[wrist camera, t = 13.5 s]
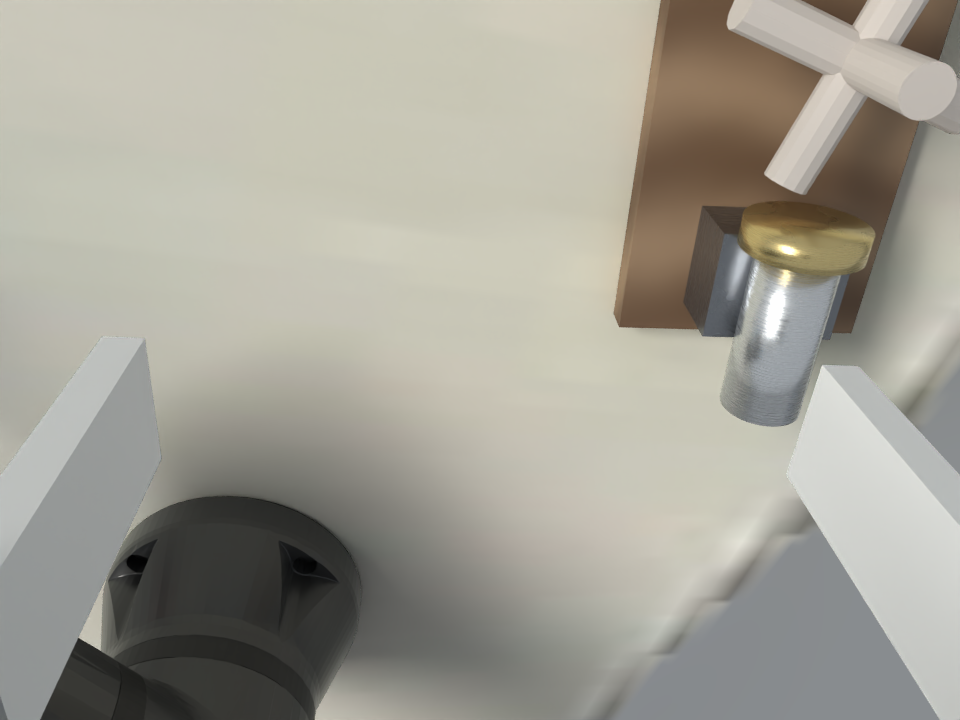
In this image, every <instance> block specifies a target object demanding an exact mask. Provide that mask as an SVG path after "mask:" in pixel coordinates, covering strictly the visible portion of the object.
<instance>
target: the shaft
mask: <svg viewBox="0 0 960 720" xmlns="http://www.w3.org/2000/svg"><path fill="white" fill-rule="evenodd" d="M874 239H875V231H874V230H873V228H872V227H871V226H870V225H869V224H867V223H866V222H864V221H863V220H861V219H859V218H857V217H855V216H853V215H850V214H848V213H845V212H842V211H839V210H836V209H832V208H828V207H824V206H820V205H815V204H809V203H802V202H791V201H769V202H761V203H756V204H753V205H750V206H749V207H729V206H702V209H701V214H700V219H699V224H698V229H697V234H696V239H695V245H694V250H693V255H692V260H691V265H690V270H689V275H688V280H687V285H686V290H685V295H684V300H683V303H684V304H685V306H686V308H687V310H688V312H689V313H690V315H691V317H692V319H693V320H694V322H695V324H696V326H697V328H698V329H699V331H700V333H701V335H702V336H710V337H734V339H733V343H732V347H731V351H730V355H729V360H728V364H727V368H726V372H725V376H724V381H723V385H722V389H721V393H720V401H721V404H722V405H723V407H724V408H725V409H726V410H727V411H728V412H730V413H731V414H732V415H734V416H736V417H737V418H739V419H741V420H744V421H746V422H749V423H753V424H756V425H762V426H772V427H774V426H784V425H788V424H791V423H793V422H794V421H795V420H796V419H797V418H798V416H799V413H800V410H801V406H802V403H803V400H804V396H805V393H806V390H807V386H808V383H809V380H810V376H811V373H812V370H813V367H814V363H815V360H816V357H817V353H818V350H819V347H820V343H821V340H822V339H825V340H830V337H831V334H832V331H833V327H834V324H835V321H836V318H837V314H838V311H839V308H840V305H841V301H842V298H843V295H844V292H845V288H846V285H847V282H848V279H849V275H850V274H852V273H855V272H858V271H860V270H862V269H863V268H864V267H865V266H866V264H867V261H868V257H869V254H870V251H871V248H872V245H873V242H874Z"/></svg>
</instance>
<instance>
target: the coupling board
mask: <svg viewBox="0 0 960 720" xmlns="http://www.w3.org/2000/svg"><path fill="white" fill-rule="evenodd" d="M802 1H804V2H806V3H808V4H810V5H812V6H814V7H816V8H818V9H820V10H822V11H824V12H826V13H828V14H830V15H832V16H834V17H836V18H838V19H840V20H842V21H844V22H846V23H848V24H850V25H853V24H854V22H855V20H856V19H857V17H858V15H859V14H860V12H861V10H862V9H863V7H864V5H865V4H866V2H867V0H802ZM733 2H734V0H661V3H660V10H659V16H658V23H657V30H656V36H655V43H654V50H653V56H652V63H651V69H650V76H649V83H648V89H647V96H646V103H645V109H644V116H643V123H642V129H641V136H640V143H639V149H638V156H637V162H636V169H635V176H634V182H633V189H632V196H631V202H630V209H629V216H628V222H627V229H626V236H625V242H624V249H623V256H622V262H621V269H620V275H619V282H618V289H617V295H616V302H615V309H614V315H615V318H616V320H617V323H618V325H619V327H633V328H671V329H698V328H697V326H696V324H695V322H694V320H693V319H692V317H691V315H690V313H689V312H688V310H687V308H686V306H685V304H684V303H683V300H684V295H685V290H686V285H687V280H688V275H689V270H690V265H691V260H692V255H693V250H694V245H695V239H696V234H697V229H698V224H699V219H700V214H701V209H702V206H729V207H749V206H750V205H753V204H756V203H761V202H769V201H791V202H802V203H809V204H815V205H820V206H824V207H828V208H832V209H836V210H839V211H842V212H845V213H848V214H850V215H853V216H855V217H857V218H859V219H861V220H863V221H864V222H866V223H867V224H869V225H870V226H871V227H872V228H873V230H874V231H875V239H874V242H873V245H872V248H871V251H870V254H869V257H868V261H867V264H866V266H865V267H864V268H863V269H862V270H860V271H858V272H855V273H852V274H850V275H849V279H848V282H847V285H846V288H845V292H844V295H843V298H842V301H841V305H840V308H839V311H838V314H837V318H836V321H835V324H834V327H833V331H832V333H851V332H852V329H853V326H854V323H855V319H856V316H857V313H858V310H859V307H860V304H861V301H862V298H863V295H864V291H865V288H866V285H867V282H868V279H869V276H870V273H871V270H872V267H873V263H874V260H875V257H876V254H877V251H878V248H879V245H880V242H881V239H882V235H883V232H884V229H885V226H886V223H887V220H888V217H889V214H890V211H891V207H892V204H893V201H894V198H895V195H896V192H897V189H898V186H899V183H900V179H901V176H902V173H903V170H904V167H905V164H906V161H907V158H908V154H909V151H910V148H911V145H912V142H913V139H914V136H915V133H916V130H917V126H918V123H919V121H916V120H912V119H909V118H907V117H905V116H903V115H902V114H900V113H898V112H896V111H894V110H892V109H890V108H888V107H886V106H885V105H883V104H881V103H879V102H877V101H875V100H873V99H871V98H869V97H867V99H866V101H865V102H864V104H863V105H862V107H861V108H860V110H859V112H858V113H857V115H856V116H855V118H854V120H853V121H852V123H851V124H850V126H849V127H848V129H847V131H846V132H845V134H844V135H843V137H842V138H841V140H840V142H839V143H838V145H837V146H836V148H835V149H834V151H833V153H832V154H831V156H830V157H829V159H828V161H827V162H826V164H825V165H824V167H823V168H822V170H821V172H820V173H819V175H818V176H817V178H816V179H815V181H814V183H813V184H812V186H811V187H810V189H809V190H808V192H807V194H806V195H802V194H799V193H796V192H793V191H791V190H789V189H787V188H785V187H783V186H781V185H779V184H777V183H776V182H774V181H772V180H771V179H769V178H768V177H767V176H765V174H764V172H765V170H766V169H767V167H768V165H769V164H770V162H771V160H772V159H773V157H774V155H775V154H776V152H777V150H778V149H779V147H780V145H781V144H782V142H783V140H784V139H785V137H786V135H787V134H788V132H789V130H790V129H791V127H792V125H793V124H794V122H795V120H796V119H797V117H798V115H799V114H800V112H801V110H802V109H803V107H804V105H805V104H806V102H807V100H808V99H809V97H810V95H811V94H812V92H813V90H814V89H815V87H816V85H817V84H818V82H819V80H820V79H821V77H822V75H823V74H822V73H820V72H817V71H815V70H813V69H811V68H809V67H807V66H805V65H803V64H800V63H798V62H796V61H794V60H792V59H790V58H788V57H786V56H783V55H781V54H779V53H777V52H775V51H773V50H771V49H769V48H766V47H764V46H762V45H760V44H758V43H756V42H754V41H752V40H749V39H747V38H745V37H743V36H741V35H739V34H737V33H735V32H733V31H730V30H729V29H728V27H727V20H728V14H729V12H730V9H731V7H732V5H733ZM957 2H958V0H929V1H928V3H927V4H926V6H925V8H924V9H923V11H922V12H921V14H920V15H919V17H918V19H917V20H916V22H915V23H914V25H913V27H912V28H911V30H910V31H909V33H908V34H907V36H906V38H905V39H904V41H903V42H902V44H901V45H900V46H901V47H904V48H907V49H909V50H912V51H915V52H917V53H920V54H922V55H925V56H928V57H930V58H933V59H936V60H938V61H939V58H940V55H941V52H942V49H943V46H944V42H945V39H946V36H947V33H948V30H949V27H950V24H951V21H952V17H953V14H954V11H955V8H956V5H957Z"/></svg>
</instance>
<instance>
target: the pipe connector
mask: <svg viewBox="0 0 960 720" xmlns="http://www.w3.org/2000/svg"><path fill="white" fill-rule="evenodd" d="M928 1H929V0H867V2H866V4H865V5H864V7H863V9H862V10H861V12H860V14H859V15H858V17H857V19H856V20H855V22H854V24H853V25H850V24H848V23H846V22H844V21H842V20H840V19H838V18H836V17H834V16H832V15H830V14H828V13H826V12H824V11H822V10H820V9H818V8H816V7H814V6H812V5H810V4H808V3H806V2H804V1H802V0H734V2H733V5H732V7H731V9H730V12H729V14H728V20H727V27H728V29H729V30H730V31H733V32H735V33H737V34H739V35H741V36H743V37H745V38H747V39H749V40H752V41H754V42H756V43H758V44H760V45H762V46H764V47H766V48H769V49H771V50H773V51H775V52H777V53H779V54H781V55H783V56H786V57H788V58H790V59H792V60H794V61H796V62H798V63H800V64H803V65H805V66H807V67H809V68H811V69H813V70H815V71H817V72H820V73H822V74H823V75H822V77H821V79H820V80H819V82H818V84H817V85H816V87H815V89H814V90H813V92H812V94H811V95H810V97H809V99H808V100H807V102H806V104H805V105H804V107H803V109H802V110H801V112H800V114H799V115H798V117H797V119H796V120H795V122H794V124H793V125H792V127H791V129H790V130H789V132H788V134H787V135H786V137H785V139H784V140H783V142H782V144H781V145H780V147H779V149H778V150H777V152H776V154H775V155H774V157H773V159H772V160H771V162H770V164H769V165H768V167H767V169H766V170H765V172H764V174H765V176H767V177H768V178H769V179H771V180H772V181H774V182H776V183H777V184H779V185H781V186H783V187H785V188H787V189H789V190H791V191H793V192H796V193H799V194H802V195H806V194H807V192H808V190H809V189H810V187H811V186H812V184H813V183H814V181H815V179H816V178H817V176H818V175H819V173H820V172H821V170H822V168H823V167H824V165H825V164H826V162H827V161H828V159H829V157H830V156H831V154H832V153H833V151H834V149H835V148H836V146H837V145H838V143H839V142H840V140H841V138H842V137H843V135H844V134H845V132H846V131H847V129H848V127H849V126H850V124H851V123H852V121H853V120H854V118H855V116H856V115H857V113H858V112H859V110H860V108H861V107H862V105H863V104H864V102H865V101H866V99H867V97H869V98H871V99H873V100H875V101H877V102H879V103H881V104H883V105H885V106H886V107H888V108H890V109H892V110H894V111H896V112H898V113H900V114H902V115H903V116H905V117H907V118H909V119H912V120H916V121H924V122H926V123H928V124H930V125H932V126H934V127H936V128H938V129H941V130H943V131H945V132H947V133H949V134H959V133H960V78H958V77H956V74H955V72H954V70H953V69H952V67H950V66H949V65H948V64H946V63H943V62H941V61H938V60H936V59H933V58H930V57H928V56H925V55H922V54H920V53H917V52H915V51H912V50H909V49H907V48H904V47H901V46H900V45H901V44H902V42H903V41H904V39H905V38H906V36H907V34H908V33H909V31H910V30H911V28H912V27H913V25H914V23H915V22H916V20H917V19H918V17H919V15H920V14H921V12H922V11H923V9H924V8H925V6H926V4H927V3H928Z"/></svg>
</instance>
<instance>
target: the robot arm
mask: <svg viewBox="0 0 960 720" xmlns="http://www.w3.org/2000/svg"><path fill="white" fill-rule="evenodd" d="M161 459H162V458H161V450H160V443H159V436H158V429H157V422H156V415H155V407H154V400H153V393H152V386H151V379H150V372H149V364H148V357H147V350H146V343H145V338H128V337H103V336H102V337H101V339H100V340H99V341H98V343H97V344H96V345H95V347H94V348H93V349H92V351H91V352H90V354H89V355H88V356H87V358H86V359H85V360H84V362H83V363H82V365H81V366H80V367H79V369H78V370H77V371H76V373H75V374H74V375H73V377H72V378H71V380H70V381H69V382H68V384H67V385H66V386H65V388H64V389H63V391H62V392H61V393H60V395H59V396H58V397H57V399H56V400H55V401H54V403H53V404H52V406H51V407H50V408H49V410H48V411H47V412H46V414H45V415H44V417H43V418H42V419H41V421H40V422H39V423H38V425H37V426H36V427H35V429H34V430H33V432H32V433H31V434H30V436H29V437H28V438H27V440H26V441H25V443H24V444H23V445H22V447H21V448H20V449H19V451H18V452H17V453H16V455H15V456H14V458H13V459H12V460H11V462H10V463H9V464H8V466H7V467H6V469H5V470H4V471H3V473H2V474H1V475H0V720H315V714H316V710H317V708H318V706H319V704H320V703H321V701H322V699H323V697H324V695H325V693H326V692H327V690H328V688H329V686H330V684H331V682H332V681H333V679H334V677H335V675H336V673H337V671H338V670H339V668H340V666H341V664H342V662H343V660H344V659H345V657H346V655H347V653H348V651H349V649H350V647H351V645H352V643H353V640H354V638H355V634H356V631H357V627H358V620H359V612H360V603H361V583H360V578H359V574H358V571H357V569H356V566H355V564H354V562H353V560H352V558H351V557H350V555H349V553H348V552H347V551H346V549H345V548H344V547H343V545H342V544H341V543H340V542H339V541H338V540H337V539H336V538H335V537H334V536H333V535H332V534H331V533H330V532H328V531H327V530H326V529H325V528H323V527H322V526H321V525H319V524H318V523H316V522H315V521H313V520H311V519H310V518H308V517H306V516H304V515H302V514H300V513H298V512H296V511H294V510H291V509H289V508H286V507H283V506H280V505H277V504H274V503H270V502H267V501H262V500H257V499H251V498H244V497H229V496H222V497H206V498H198V499H193V500H188V501H184V502H180V503H177V504H174V505H171V506H169V507H166V508H164V509H162V510H160V511H158V512H156V513H154V514H153V515H151V516H149V517H148V518H146V519H145V520H144V521H142V522H141V523H140V524H139V525H138V526H136V527H135V528H134V529H133V530H132V531H131V533H130V534H129V535H128V536H127V538H126V539H125V541H124V542H123V540H124V538H125V536H126V534H127V532H128V530H129V528H130V525H131V523H132V521H133V519H134V517H135V515H136V513H137V510H138V508H139V506H140V504H141V502H142V500H143V498H144V495H145V493H146V491H147V489H148V487H149V485H150V482H151V480H152V478H153V476H154V474H155V472H156V470H157V467H158V465H159V463H160V461H161ZM786 475H787V477H788V479H789V480H790V482H791V483H792V485H793V487H794V488H795V490H796V491H797V493H798V495H799V496H800V498H801V499H802V501H803V503H804V504H805V506H806V507H807V509H808V511H809V512H810V514H811V515H812V517H813V519H814V520H815V522H816V523H817V525H818V526H819V528H820V530H821V531H822V533H823V534H824V536H825V537H826V539H827V541H828V542H829V544H830V545H831V547H832V549H833V550H834V552H835V554H836V555H837V556H838V558H839V560H840V561H841V563H842V565H843V566H844V568H845V569H846V571H847V573H848V574H849V576H850V577H851V579H852V581H853V582H854V584H855V585H856V587H857V589H858V590H859V592H860V593H861V595H862V597H863V598H864V600H865V601H866V603H867V605H868V606H869V608H870V609H871V611H872V612H873V614H874V616H875V617H876V619H877V620H878V622H879V624H880V625H881V627H882V628H883V630H884V632H885V633H886V635H887V636H888V638H889V639H890V641H891V643H892V644H893V646H894V648H895V649H896V651H897V652H898V654H899V656H900V657H901V659H902V660H903V662H904V664H905V665H906V667H907V668H908V670H909V671H910V673H911V675H912V676H913V678H914V679H915V681H916V683H917V684H918V686H919V687H920V689H921V690H922V692H923V694H924V695H925V697H926V699H927V700H928V702H929V703H930V705H931V706H932V708H933V710H934V711H935V713H936V715H937V716H938V718H939V719H940V720H960V475H959V474H958V473H957V472H956V471H955V469H954V468H953V467H952V466H951V465H950V464H949V463H948V462H947V461H946V460H945V459H944V458H943V457H942V455H941V454H940V453H939V452H938V451H937V450H936V449H935V448H934V447H933V446H932V445H931V444H930V442H929V441H928V440H927V439H926V438H925V437H924V436H923V435H922V434H921V433H920V432H919V431H918V430H917V428H916V427H915V426H914V425H913V424H912V423H911V422H910V421H909V420H908V419H907V418H906V417H905V416H904V414H903V413H902V412H901V411H900V410H899V409H898V408H897V407H896V406H895V405H894V404H893V403H892V402H891V400H890V399H889V398H888V397H887V396H886V395H885V394H884V393H883V392H882V391H881V390H880V389H879V388H878V386H877V385H876V384H875V383H874V382H873V381H872V380H871V379H870V378H869V377H868V376H867V375H866V373H865V372H864V371H863V370H862V369H861V368H860V367H859V366H842V365H822V367H821V370H820V373H819V376H818V379H817V382H816V385H815V388H814V391H813V394H812V398H811V401H810V404H809V407H808V410H807V413H806V416H805V419H804V422H803V425H802V428H801V431H800V434H799V437H798V440H797V443H796V446H795V450H794V453H793V456H792V459H791V462H790V465H789V468H788V471H787V474H786ZM122 543H123V544H122ZM121 545H122V546H121ZM120 547H121V548H120ZM119 549H120V550H119ZM118 551H119V552H118ZM117 553H118V554H117ZM116 555H117V556H116ZM112 564H113V565H112ZM111 566H112V567H111ZM110 568H111V569H110ZM107 575H108V576H107ZM106 577H107V579H106ZM105 579H106V583H105V587H104V592H103V605H102V633H101V651H100V650H98V649H97V648H95V647H93V646H91V645H90V644H88V643H86V642H84V641H83V640H81V639H79V638H78V637H79V635H80V633H81V631H82V629H83V626H84V624H85V622H86V620H87V618H88V616H89V613H90V611H91V609H92V607H93V605H94V603H95V601H96V598H97V596H98V594H99V592H100V590H101V588H102V586H103V583H104V581H105Z"/></svg>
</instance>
